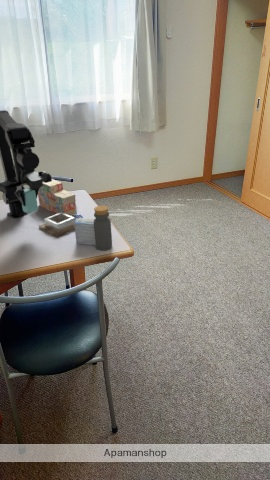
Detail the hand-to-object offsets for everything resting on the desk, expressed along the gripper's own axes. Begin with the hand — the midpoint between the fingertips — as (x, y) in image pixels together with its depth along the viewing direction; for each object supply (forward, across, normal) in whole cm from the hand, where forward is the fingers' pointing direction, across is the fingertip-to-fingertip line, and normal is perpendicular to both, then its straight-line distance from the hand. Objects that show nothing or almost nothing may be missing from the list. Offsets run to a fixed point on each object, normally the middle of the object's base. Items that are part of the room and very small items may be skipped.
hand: (29, 204), depth 132 cm
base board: (+12, +10, -4) cm, 16 cm away
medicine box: (+12, +9, -22) cm, 26 cm away
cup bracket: (+12, +10, -4) cm, 16 cm away
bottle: (+12, +10, -29) cm, 33 cm away
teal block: (+2, 0, 0) cm, 2 cm away
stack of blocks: (+12, +20, +12) cm, 27 cm away
